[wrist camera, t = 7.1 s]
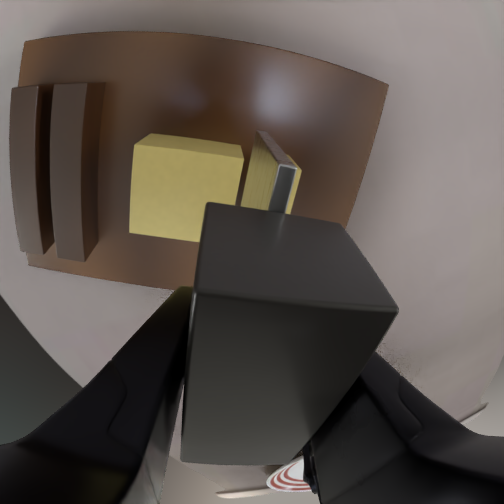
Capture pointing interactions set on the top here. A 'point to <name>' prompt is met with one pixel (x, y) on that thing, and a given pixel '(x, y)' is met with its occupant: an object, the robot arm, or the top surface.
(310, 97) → the cutting board
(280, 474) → the dinner plate
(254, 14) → the top surface
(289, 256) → the dark grey block
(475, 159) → the top surface
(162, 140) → the butter stick
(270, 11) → the top surface
